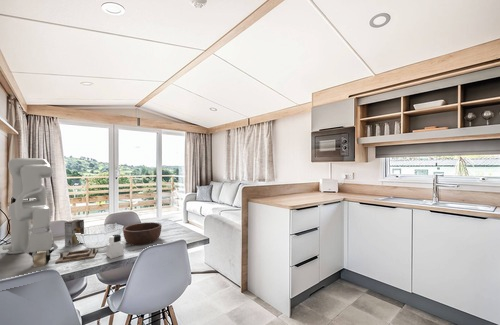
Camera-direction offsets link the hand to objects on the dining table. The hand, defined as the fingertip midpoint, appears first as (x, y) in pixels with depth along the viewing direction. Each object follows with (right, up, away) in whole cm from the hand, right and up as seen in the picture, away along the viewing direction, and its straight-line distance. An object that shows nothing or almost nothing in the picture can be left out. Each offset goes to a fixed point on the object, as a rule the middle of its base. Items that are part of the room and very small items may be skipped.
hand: (41, 262), depth 130 cm
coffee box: (-5, -1, +32) cm, 32 cm away
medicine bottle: (+35, -1, +10) cm, 36 cm away
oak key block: (0, -1, 0) cm, 1 cm away
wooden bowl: (+39, -1, +37) cm, 54 cm away
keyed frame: (+13, -1, +9) cm, 16 cm away
